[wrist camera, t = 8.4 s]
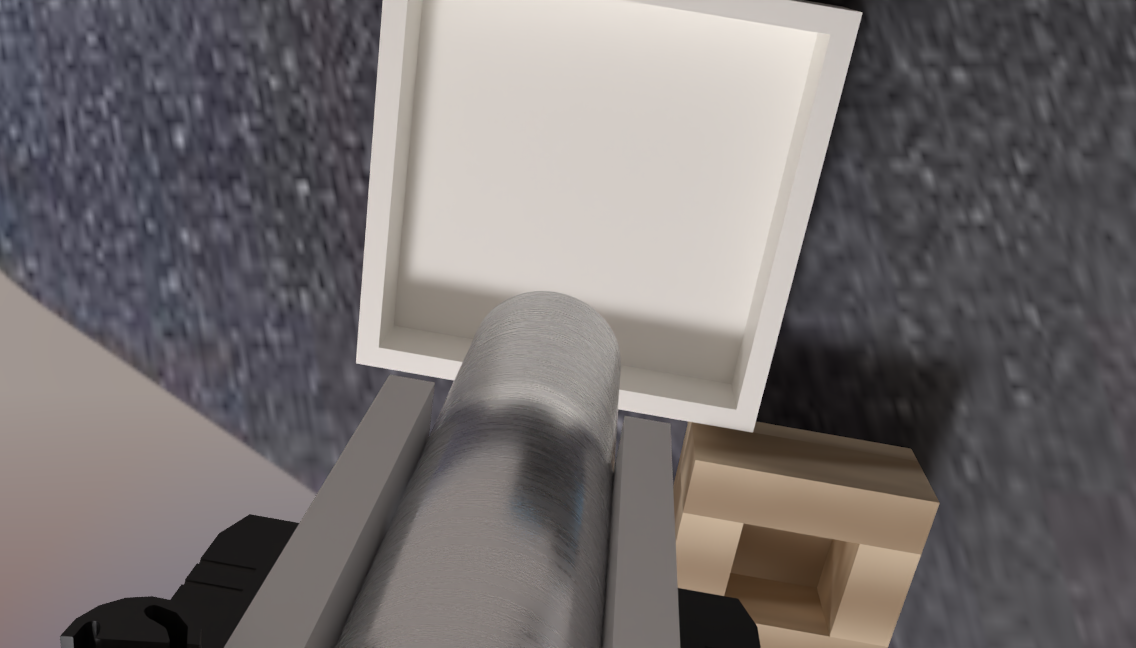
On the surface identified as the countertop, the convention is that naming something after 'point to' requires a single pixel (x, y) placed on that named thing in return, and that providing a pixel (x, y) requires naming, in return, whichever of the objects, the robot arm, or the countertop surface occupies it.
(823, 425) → the countertop surface
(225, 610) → the robot arm
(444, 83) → the rectangular frame
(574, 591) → the pin
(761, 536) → the socket block
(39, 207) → the countertop surface
